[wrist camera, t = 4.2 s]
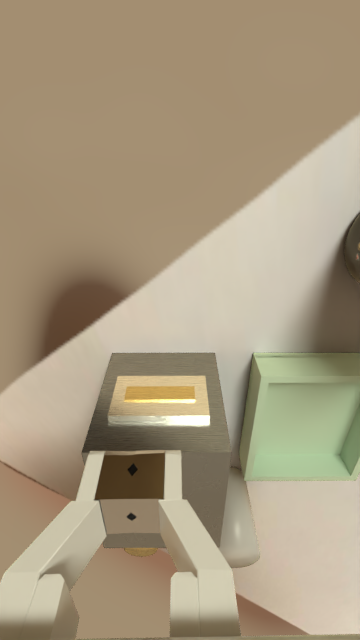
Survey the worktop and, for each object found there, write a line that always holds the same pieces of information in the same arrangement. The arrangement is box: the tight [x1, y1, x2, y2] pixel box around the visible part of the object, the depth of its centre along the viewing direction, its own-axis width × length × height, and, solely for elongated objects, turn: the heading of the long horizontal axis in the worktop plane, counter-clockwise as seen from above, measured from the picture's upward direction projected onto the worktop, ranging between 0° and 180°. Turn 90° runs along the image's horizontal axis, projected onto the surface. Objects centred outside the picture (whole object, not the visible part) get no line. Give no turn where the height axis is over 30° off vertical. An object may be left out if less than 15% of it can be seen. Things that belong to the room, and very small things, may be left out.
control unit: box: [82, 353, 232, 548], centre depth 23 cm, size 10×8×10 cm
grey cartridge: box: [218, 467, 260, 568], centre depth 30 cm, size 4×4×7 cm
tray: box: [239, 353, 360, 481], centre depth 26 cm, size 12×10×3 cm
